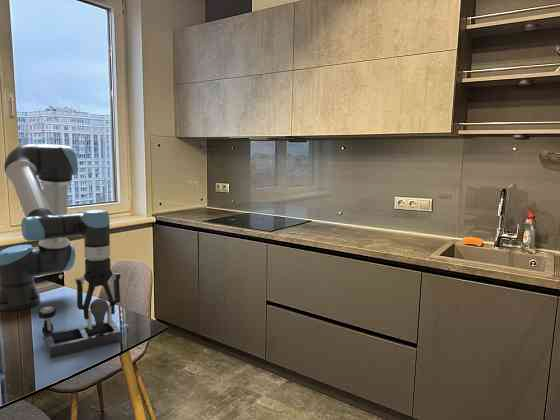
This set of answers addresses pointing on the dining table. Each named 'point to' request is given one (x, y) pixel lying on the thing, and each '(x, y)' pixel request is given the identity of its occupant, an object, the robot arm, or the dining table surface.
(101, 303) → the light bulb
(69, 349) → the rectangular frame
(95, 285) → the robot arm
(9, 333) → the dining table surface
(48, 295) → the dining table surface
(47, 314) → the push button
